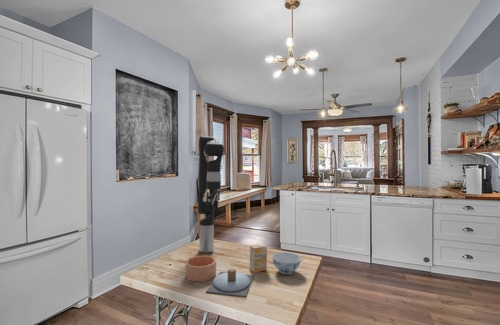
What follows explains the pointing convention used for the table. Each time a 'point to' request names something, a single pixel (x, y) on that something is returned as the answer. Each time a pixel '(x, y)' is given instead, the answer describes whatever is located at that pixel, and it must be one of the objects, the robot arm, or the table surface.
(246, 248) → the table surface
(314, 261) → the table surface
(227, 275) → the lid
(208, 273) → the bowl
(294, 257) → the chinaware
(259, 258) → the supplement box
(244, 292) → the mat
